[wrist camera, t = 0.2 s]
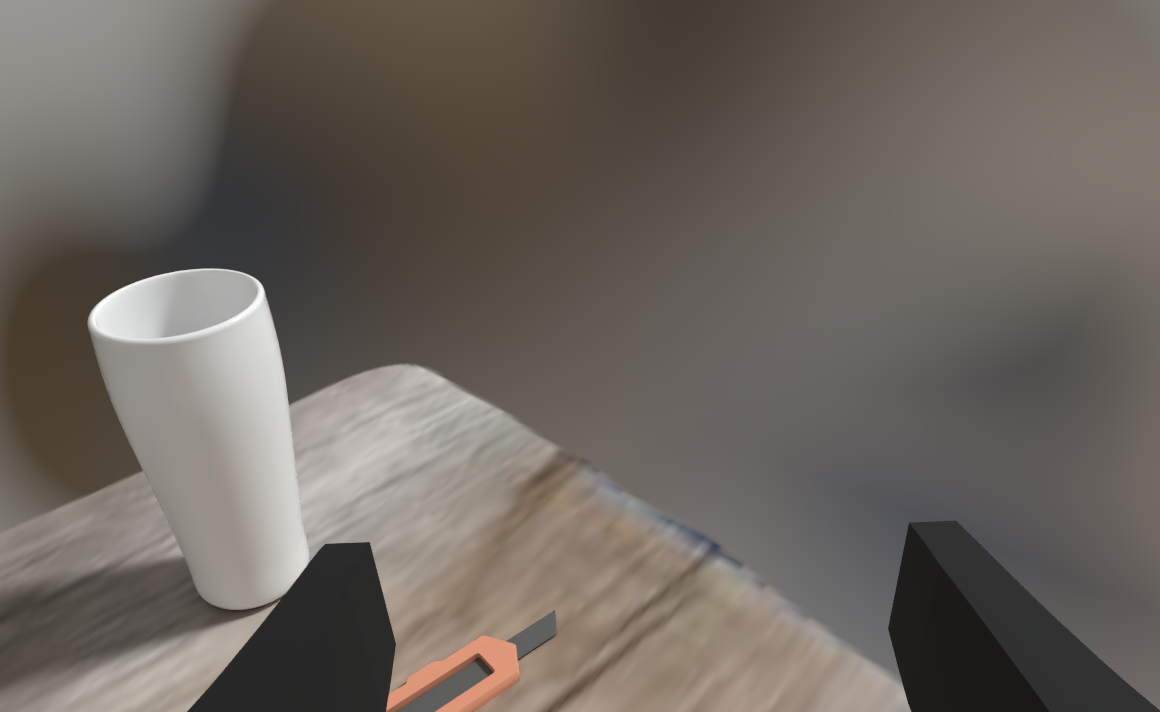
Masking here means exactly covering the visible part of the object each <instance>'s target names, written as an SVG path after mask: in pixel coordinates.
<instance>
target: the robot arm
mask: <svg viewBox="0 0 1160 712" xmlns="http://www.w3.org/2000/svg"><path fill="white" fill-rule="evenodd" d="M888 629H889V633H890V637H891V641H892V645H893V648H894V653H895V657H896V661H897V664H898V668H899V672H900V676H901V679H902V683H903V686H904V690H905V693H906V697H907V700H908V704H909V706H910V709H911V711H912V712H1160V710H1158V709H1157V708H1156V707H1155V706H1154V705H1153V704H1151V703H1150V702H1149V701H1148V700H1147V699H1145V698H1144V697H1143V696H1142V695H1140V694H1139V693H1138V692H1137V691H1136V690H1135V689H1134V688H1132V687H1131V686H1130V685H1129V684H1128V683H1126V682H1125V681H1124V680H1123V679H1122V678H1121V677H1120V676H1119V675H1117V674H1116V673H1115V672H1114V671H1113V670H1112V669H1111V668H1109V667H1108V666H1107V665H1106V664H1105V663H1104V662H1103V661H1102V660H1100V659H1099V658H1098V657H1097V656H1096V655H1095V654H1094V653H1093V652H1092V651H1091V650H1090V649H1089V648H1087V647H1086V646H1085V645H1084V644H1083V643H1082V642H1081V641H1080V640H1079V639H1078V638H1077V637H1076V636H1074V635H1073V634H1072V633H1071V632H1070V631H1069V630H1068V629H1067V628H1066V627H1065V626H1064V625H1062V624H1061V623H1060V622H1059V621H1058V620H1057V619H1056V618H1055V617H1054V616H1053V615H1052V614H1051V613H1050V612H1049V611H1048V610H1047V609H1045V608H1044V606H1042V605H1041V604H1040V603H1039V602H1038V601H1037V600H1036V599H1035V598H1034V597H1033V596H1032V595H1031V594H1030V593H1029V592H1028V591H1027V590H1026V589H1025V588H1024V587H1023V586H1022V585H1021V584H1020V583H1019V582H1018V581H1017V580H1016V579H1014V577H1013V576H1012V575H1011V574H1010V573H1009V572H1008V571H1007V570H1006V569H1005V568H1004V567H1003V566H1002V565H1001V564H999V562H998V561H997V560H996V559H994V557H993V556H992V555H990V554H989V553H988V552H987V551H986V550H985V549H984V548H983V547H982V546H981V545H980V544H979V543H978V542H977V541H976V540H975V539H974V538H973V537H972V536H971V535H970V534H969V533H968V532H967V531H966V530H965V529H964V528H963V527H962V526H961V525H960V524H959V523H958V522H957V521H940V522H915V523H914V522H913V523H909V526H908V531H907V536H906V541H905V546H904V551H903V556H902V561H901V566H900V571H899V576H898V581H897V587H896V592H895V597H894V602H893V607H892V612H891V617H890V622H889V627H888ZM395 646H396V643H395V639H394V635H393V631H392V627H391V623H390V620H389V616H388V612H387V608H386V604H385V600H384V596H383V592H382V588H381V585H380V581H379V577H378V573H377V569H376V565H375V561H374V557H373V554H372V550H371V546H370V542H365V543H337V544H325V545H324V546H323V547H322V548H321V549H320V550H319V551H318V552H317V554H316V555H315V556H314V557H313V559H312V560H311V561H310V563H309V564H308V565H307V567H306V568H305V569H304V570H303V572H302V573H301V574H300V576H299V577H298V578H297V580H296V581H295V582H294V583H293V585H292V586H291V587H290V589H289V590H288V591H287V592H286V594H285V595H284V596H283V598H282V599H281V600H280V602H279V603H278V604H277V605H276V607H275V608H274V609H273V610H272V612H271V613H270V614H269V615H268V617H267V618H266V619H265V621H264V622H263V623H262V624H261V626H260V627H259V628H258V629H257V631H256V632H255V633H254V634H253V635H252V637H251V638H250V639H249V640H248V641H247V643H246V644H245V645H244V646H243V648H242V649H241V650H240V651H239V652H238V654H237V655H236V656H235V657H234V658H233V660H232V661H231V662H230V663H229V664H228V666H227V667H226V668H225V669H224V671H223V672H222V673H221V674H220V675H219V676H218V678H217V679H216V680H215V681H214V682H213V683H212V685H211V686H210V687H209V688H208V689H207V690H206V691H205V693H204V694H203V695H202V696H201V697H200V698H199V699H198V700H197V701H196V703H195V704H194V705H193V706H192V707H191V708H190V709H189V710H188V711H187V712H386V708H387V702H388V696H389V689H390V683H391V676H392V668H393V661H394V654H395Z"/></svg>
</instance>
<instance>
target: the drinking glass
mask: <svg viewBox="0 0 1160 712" xmlns="http://www.w3.org/2000/svg"><path fill="white" fill-rule="evenodd" d="M88 328H89V331H90V334H91V337H92V341H93V345H94V349H95V352H96V356H97V359H98V363H99V366H100V369H101V372H102V376H103V379H104V382H105V384H106V387H107V390H108V393H109V396H110V398H111V401H112V403H113V406H114V408H115V411H116V413H117V415H118V418H119V420H120V422H121V425H122V427H123V429H124V431H125V433H126V436H127V438H128V440H129V442H130V444H131V446H132V448H133V450H134V452H135V454H136V457H137V458H138V460H139V463H140V465H141V467H142V469H143V471H144V473H145V475H146V477H147V479H148V481H149V483H150V486H151V488H152V490H153V492H154V494H155V496H156V498H157V500H158V502H159V504H160V507H161V509H162V511H163V513H164V515H165V517H166V519H167V521H168V523H169V526H170V528H171V530H172V532H173V534H174V536H175V538H176V541H177V543H178V545H179V547H180V549H181V551H182V554H183V556H184V558H185V560H186V562H187V565H188V568H189V571H190V574H191V577H192V580H193V583H194V585H195V588H196V590H197V592H198V593H199V594H200V596H201V597H202V598H203V599H204V600H205V601H207V602H208V603H210V604H211V605H214V606H216V607H219V608H222V609H228V610H245V609H251V608H256V607H259V606H262V605H265V604H268V603H270V602H272V601H274V600H276V599H278V598H280V597H282V596H283V595H285V594H286V592H287V591H288V590H289V589H290V587H291V586H292V585H293V583H294V582H295V581H296V580H297V578H298V577H299V576H300V574H301V573H302V572H303V570H304V569H305V568H306V567H307V565H308V561H309V548H308V543H307V538H306V534H305V530H304V526H303V519H302V512H301V504H300V497H299V489H298V481H297V472H296V464H295V456H294V447H293V439H292V430H291V421H290V413H289V404H288V397H287V390H286V389H287V388H286V381H285V374H284V368H283V363H282V357H281V352H280V348H279V344H278V339H277V335H276V331H275V327H274V323H273V319H272V316H271V312H270V309H269V305H268V302H267V299H266V295H265V291H264V288H263V286H262V285H261V283H260V282H259V281H258V280H257V279H255V278H254V277H252V276H250V275H247V274H245V273H242V272H238V271H232V270H226V269H193V270H184V271H178V272H172V273H167V274H162V275H158V276H154V277H150V278H147V279H144V280H141V281H138V282H135V283H133V284H130V285H128V286H126V287H123V288H121V289H119V290H117V291H115V292H114V293H112V294H110V295H109V296H107V297H106V298H104V299H103V300H102V301H101V302H99V303H98V304H97V305H96V306H95V307H94V308H93V310H92V311H91V313H90V315H89V318H88Z"/></svg>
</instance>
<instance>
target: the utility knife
mask: <svg viewBox="0 0 1160 712" xmlns="http://www.w3.org/2000/svg"><path fill="white" fill-rule="evenodd" d="M555 635H556V622H555V610H554V611H553V612H551V613H549V614H548V615H546V616H545V617H543V618H542V619H540V620H539V621H537V622H535V623H534V624H532V625H531V626H529V627H528V628H526V629H525V630H523V631H521V632H520V633H518V634H517V635H515V636H514V637H512V638H511V639H509V640H507V641H502V640H498V639H494V638H491V637H487V636H481V637H480V638H478V639H477V640H475V641H473V642H472V643H470V644H469V645H467V646H465V647H464V648H462V649H461V650H459V651H457V652H456V653H454V654H453V655H451V656H449V657H448V658H446V659H445V660H443V661H441V662H439V661H434V662H432V663H430V664H429V665H427V666H426V667H424V668H422V669H421V670H419V671H418V672H416V673H414V674H413V675H411V676H410V677H408V678H407V680H406V684H405V685H403V686H401V687H400V688H398V689H397V690H395V691H393V692H392V693H390V694H389V696H388V702H387V708H386V712H473V711H475V710H476V709H478V708H479V707H481V706H482V705H484V704H485V703H487V702H488V701H490V700H491V699H492V698H494V697H495V696H497V695H498V694H500V693H501V692H503V691H504V690H506V689H507V688H509V687H510V686H512V685H513V684H515V683H516V682H517V681H519V680H520V679H519V669H518V659H520V658H521V657H523V656H524V655H526V654H527V653H529V652H530V651H532V650H533V649H535V648H536V647H538V646H539V645H541V644H542V643H544V642H546V641H547V640H549V639H550V638H552V637H553V636H555Z"/></svg>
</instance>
